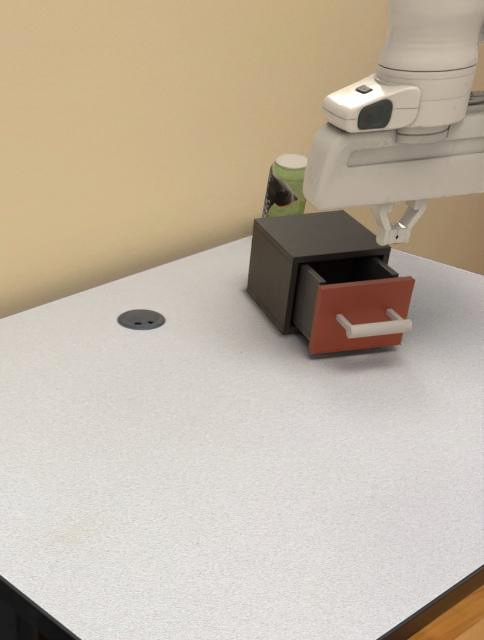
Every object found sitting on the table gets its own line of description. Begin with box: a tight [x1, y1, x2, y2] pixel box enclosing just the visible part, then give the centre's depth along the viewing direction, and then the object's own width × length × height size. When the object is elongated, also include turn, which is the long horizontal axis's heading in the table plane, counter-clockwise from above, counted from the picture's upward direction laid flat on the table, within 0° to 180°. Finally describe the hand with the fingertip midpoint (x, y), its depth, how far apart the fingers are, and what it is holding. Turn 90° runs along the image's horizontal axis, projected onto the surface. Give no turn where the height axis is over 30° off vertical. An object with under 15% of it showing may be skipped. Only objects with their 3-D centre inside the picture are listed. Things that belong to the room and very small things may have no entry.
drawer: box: [291, 255, 416, 355], centre depth 106 cm, size 18×11×8 cm, turn 8°
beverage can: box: [261, 152, 308, 218], centre depth 133 cm, size 6×7×12 cm
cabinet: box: [246, 209, 392, 335], centre depth 115 cm, size 15×12×10 cm
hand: (391, 242), depth 95 cm, fingers closed
